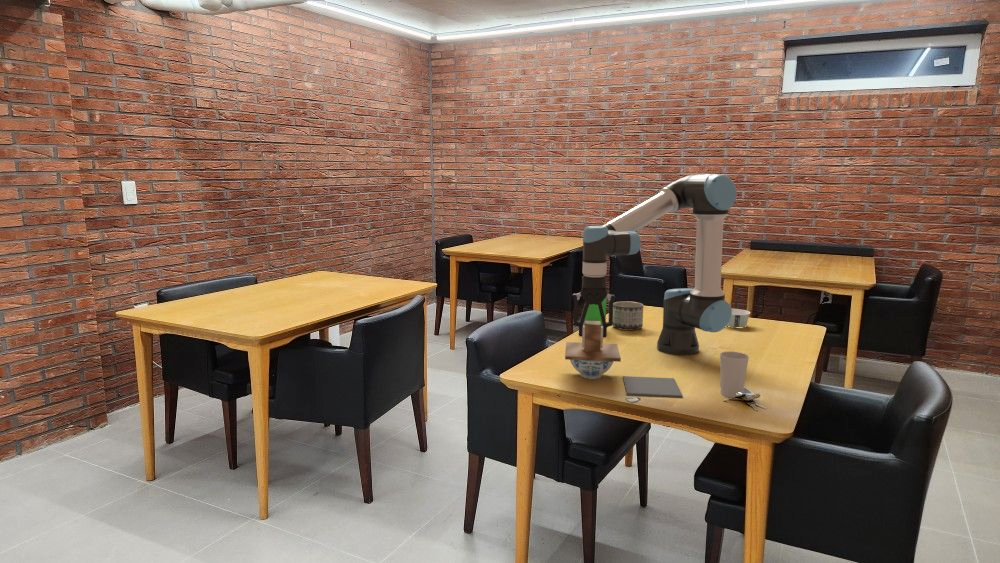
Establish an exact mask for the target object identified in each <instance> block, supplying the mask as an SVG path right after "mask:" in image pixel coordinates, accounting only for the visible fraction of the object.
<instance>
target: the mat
mask: <svg viewBox="0 0 1000 563" xmlns="http://www.w3.org/2000/svg"><path fill="white" fill-rule="evenodd" d="M622 380H623V385H624V389H625V392H626V396H635V397H637V396H638V397H639V396H640V397H662V398H664V397H665V398H683V397H684V395H683V393H682V391H681V389H680V387H679V385H678V383H677V381H676V379H675V378H674V377H655V376H654V377H653V376H652V377H651V376H650V377H649V376H631V375H629V376H626V375H623V376H622Z"/></svg>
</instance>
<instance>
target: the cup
mask: <svg viewBox="0 0 1000 563" xmlns="http://www.w3.org/2000/svg"><path fill="white" fill-rule="evenodd" d="M749 358H750V356H749V355H748V354H746V353H743V352H740V351H731V350H729V351H721V352H720V353H719V366H720V367H719V370H720V395H722V396H724V397H726V398H731V399H735V398H734V397H735V396H736V393H738V392H742V391H743V392H744V389H745V382H746V376H747V371H748V370H747V369H748V365H749Z"/></svg>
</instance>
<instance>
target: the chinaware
mask: <svg viewBox="0 0 1000 563" xmlns="http://www.w3.org/2000/svg"><path fill="white" fill-rule="evenodd" d="M569 362H570V364H571V365H572V367H573V368H574V369H575V370H576V371H577V372H578V373H580V376H581V378H583V377H584V379H587V378H588V380H598V379H601V378H602V377H603V375H604V374H605V373H606V372H608V371H609V370H610V369H611V368H612V366H613V364H614V362H615V361H592V360H569ZM597 378H598V379H597Z"/></svg>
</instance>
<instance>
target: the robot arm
mask: <svg viewBox="0 0 1000 563" xmlns="http://www.w3.org/2000/svg"><path fill="white" fill-rule="evenodd" d="M737 198H738V191H737V186H736V184H735V183H734V181H733V180H732V179H731V178H730V177H729V176H727V175H725V174H719V173H718V174H717V173H710V174H706V173H705V174H704V173H703V174H697V173H696V174H689V175H685V176H683V177H681V178H678V179H677V180H674V181H673V182H670V183H669V184H667V185H665V186H663V187H661V188H660V189H659V190H658V193H657V194H655V195H653V196H652V197H650V198H649V199H647V200H645V201H643V202H642V203H639V204H638V205H636V206H634V207H633V208H631V209H629V210H627V211H626V212H624V213H622V214H620V215H618V216H617V217H615V218H613V219H611V220H610V221H608V222H606V223H604V224H603V225H590V226H589V225H588V226H585V228H584V229H583V236H582V271H581V272H582V274H583V275H582V276H581V280H582V281H581V290H580V291H579V292H578V293H575V292H574V293H573V294H572V299H573V320H572V321H573V326H577V327H578V337H581V343H582V347H584V345H585V325H584V324H585V317H586V313H587V310H588V307H589V305H592V304H595V305H598V307H599V311H600V315H601V320H602V324H603V326H601V344H600V348H603V343H604V338H607V332H608V330H607V329H608V327H612V326H613V303H615V302H614V301H615V299H616V296H615V294H610V293H608V291H607V276H606V275H607V269H608V268H607V266H608V265H607V264H608V257H610V256H611V257H612V256H629V255H630V256H631V255H635V254H636V255H637V253H638V252H640V249H641V246H642V244H641V242H642V240H641V237H640V235H639V233H638V232H637V231H639V230H641V229H642V228H644V227H646V226H648V225H650V224H651V223H653V222H655V221H656V220H658V219H660V218H662V217H663V216H664V215H666V214H668V213H676V212H677V211H680V210H682V209H683V210H684V209H691V208H692V214H691V215H692V216H693V217H694V218H695V220H696V233H695V234H696V238H695V240H696V241H695V264H694V265H695V266H694V267H695V268H694V269H695V270H694V275H695V276H694V287H693V288H691V287H689V288H687V287H686V288H683V287H682V288H672V289H671V288H670V289H667V290H666V291H665V292H664V298H663V309H662V310H663V312H662V314H663V315H662V329H661V331H660V334H659V337H658V339H657V340H656V341H657V342H656V348H657V350H658V351H660V352H663V353H667V354H673V355H694V354H697V353H699V350H700V344H699V340H698V337H697V333H696V329H698V330H701V331H703V332H709V333H718V332H721V331H722V330H724V329H725V328H726V327H725V326H726V325H727V324H728V323H729V321H730V319H731V315H732V309H733V308H732V306H731V305H730V303H729V302H727V300H726V292H725V291H724V290H723V289H722V288H721V287H722V261H723V237H724V220H725V218H726V217H727V216H728V215H729V210H730V209H731V208H732V207H733V206H734V205H735V203H736V201H737ZM605 297H607V301H608V321H607V319H606V320H605V316H604V311H603V307H602V301H603V300H604V299H605ZM581 298H582V299H583V301H584V306H583V309H582V312H581V316H580V319H579V320H578V317H579V316H578V315H579V314H578V311H579V310H578V309H579V300H581Z"/></svg>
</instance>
